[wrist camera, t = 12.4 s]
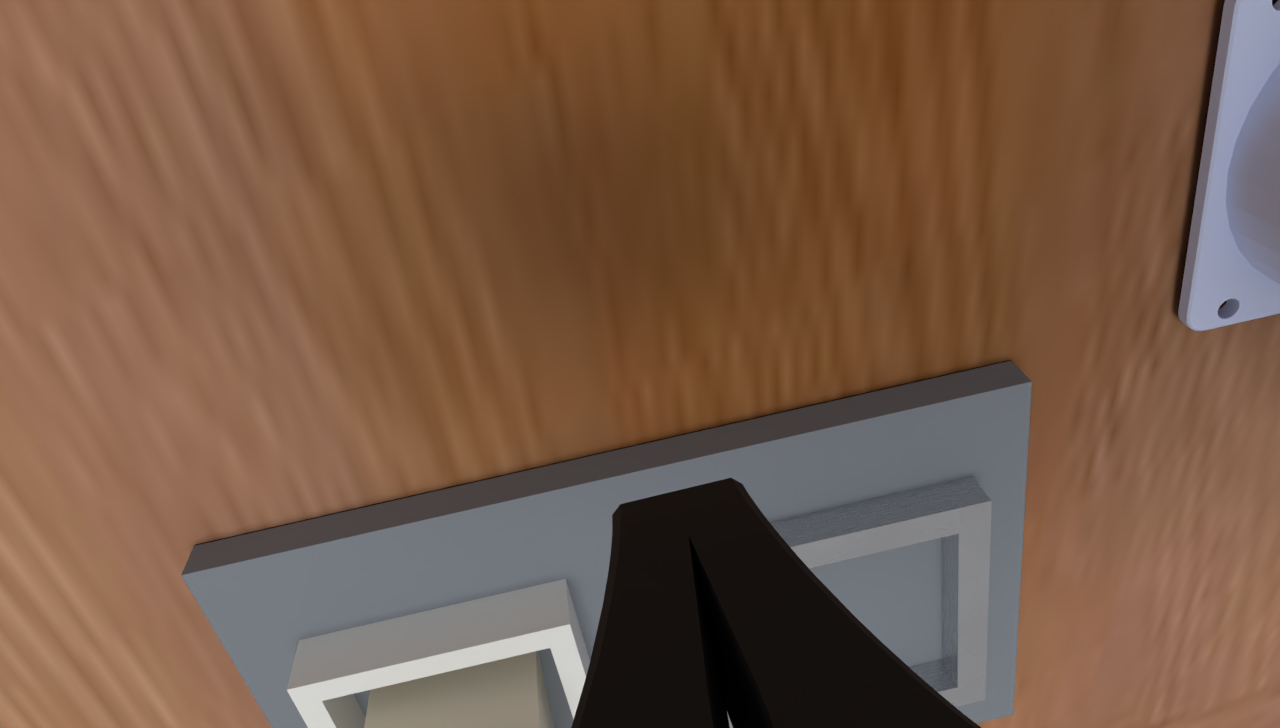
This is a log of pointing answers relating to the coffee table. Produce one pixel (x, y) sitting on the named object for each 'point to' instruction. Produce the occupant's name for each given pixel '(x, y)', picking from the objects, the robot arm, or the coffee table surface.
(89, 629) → the coffee table surface
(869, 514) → the frame
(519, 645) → the port
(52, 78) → the coffee table surface
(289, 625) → the panel plate
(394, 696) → the plug
